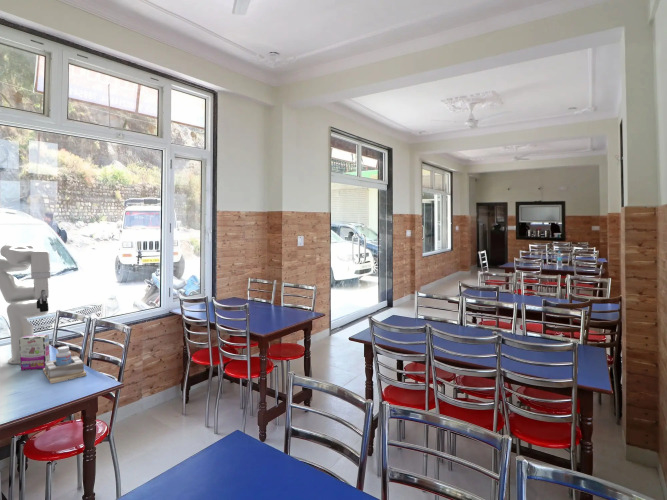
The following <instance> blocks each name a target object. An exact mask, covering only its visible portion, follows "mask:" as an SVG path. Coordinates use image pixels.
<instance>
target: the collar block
mask: <svg viewBox="0 0 667 500" xmlns="http://www.w3.org/2000/svg"><path fill="white" fill-rule="evenodd" d="M84 364H85V363H84V361H83V360H82V359H81V358H80V357H79V356H78V355H74V356H71V364H66V365H61V366H57V367H56V359H55V360H50V361H48V362H45V368H43V369H42V371H43V373H44V375H45V376H46V378H47V380H48V382H49V383H50V384H51V385H52V384H56V383H59V382H64V381H68V379H69V380H72V379H77V377H78V378H82V377H86V376H87V372H86V371H85V365H84Z"/></svg>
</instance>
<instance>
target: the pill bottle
mask: <svg viewBox="0 0 667 500" xmlns="http://www.w3.org/2000/svg"><path fill="white" fill-rule="evenodd" d="M71 357H72V352H71V351H70V347H69V346H68V345H65V346H59V347H57V353H56V354H55V360H56V367H57V366H61V365H66V364H71Z"/></svg>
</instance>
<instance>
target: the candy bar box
mask: <svg viewBox="0 0 667 500" xmlns="http://www.w3.org/2000/svg"><path fill="white" fill-rule="evenodd" d="M19 344H20V361H21V364H20V370H21V371H33V370H43V368H45V362H48V361H51V356H50V354H51V353H50V337H49V334H36V335H32V336H23V337H21V338H19Z"/></svg>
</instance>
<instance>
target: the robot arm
mask: <svg viewBox="0 0 667 500" xmlns="http://www.w3.org/2000/svg"><path fill="white" fill-rule="evenodd" d="M0 255H1V256H0V292H1V294H2V297H3V299H4V300H5V301H6V303H8V305H7V307H6V314H7V317H8V320H9V321H8V322H9V330H10V332H9V333H10V351H11V358H9V359H8V360H7V363H8V364H10V365H21V361H20V344H19V338H21V337H23V336H32V335H34V325H33V323H32V322H31V321H29V320H28V319H31V318H36V317H42V316H46V315H47V314H48V312H49V309H50V307H49V303H48V298H49V279H51V277H52V276H51V260H50V259H51V257H50V252H49V250H46V249H42V248H35V246H34V245H33V244H32V243H27V242H26V243H25V242H24V243H23V242H21V243H8V244H7V243H6V244H5V245H3V246H1V247H0ZM29 268H30V274H31V279H30V280H33V283H29V284H20V282H19V280H18V278H17V277H15V276H14V275H12V274H10V273H11V272H21V271H22V272H23V271H26V270H27V269H29Z"/></svg>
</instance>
